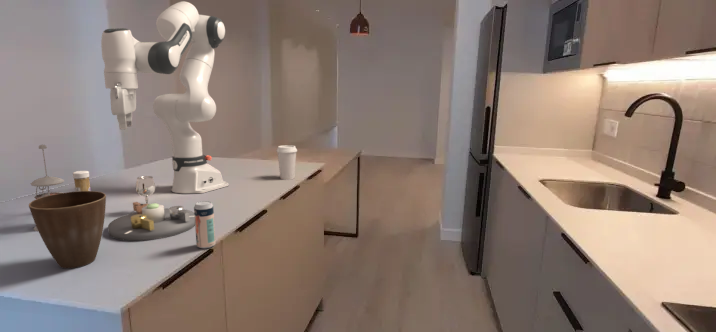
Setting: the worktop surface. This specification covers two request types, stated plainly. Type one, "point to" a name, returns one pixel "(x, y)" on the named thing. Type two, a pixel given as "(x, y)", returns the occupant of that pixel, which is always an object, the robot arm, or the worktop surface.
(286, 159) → the coffee cup
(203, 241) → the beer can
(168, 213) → the tribrach
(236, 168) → the worktop surface
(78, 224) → the plant pot
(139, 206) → the knob copper
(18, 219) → the worktop surface
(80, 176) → the sprinkles bottle
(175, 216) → the knob steel
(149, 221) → the knob brass
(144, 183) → the wineglass
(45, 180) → the vented spool lamp
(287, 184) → the worktop surface
